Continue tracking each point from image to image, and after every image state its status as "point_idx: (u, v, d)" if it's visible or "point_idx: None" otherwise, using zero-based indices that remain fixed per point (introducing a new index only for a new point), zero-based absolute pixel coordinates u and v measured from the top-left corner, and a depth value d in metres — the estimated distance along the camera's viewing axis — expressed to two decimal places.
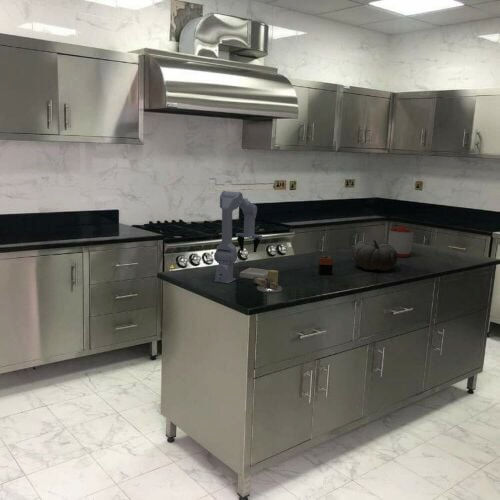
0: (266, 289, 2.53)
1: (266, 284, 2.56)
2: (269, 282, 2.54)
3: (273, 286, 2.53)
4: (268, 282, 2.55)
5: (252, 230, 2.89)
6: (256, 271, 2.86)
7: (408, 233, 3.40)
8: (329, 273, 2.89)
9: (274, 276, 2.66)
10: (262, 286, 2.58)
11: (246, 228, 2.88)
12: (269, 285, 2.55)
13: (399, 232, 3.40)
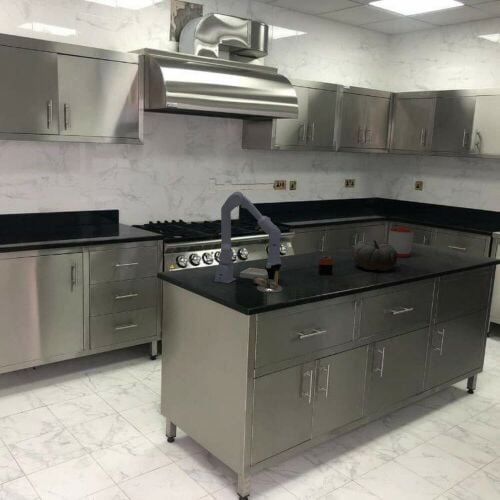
0: (266, 289, 2.53)
1: (266, 284, 2.56)
2: (269, 282, 2.54)
3: (273, 286, 2.53)
4: (268, 282, 2.55)
5: (269, 256, 2.64)
6: (256, 271, 2.86)
7: (408, 233, 3.40)
8: (329, 273, 2.89)
9: (274, 276, 2.65)
10: (262, 286, 2.58)
11: None
12: (269, 285, 2.55)
13: (399, 232, 3.40)
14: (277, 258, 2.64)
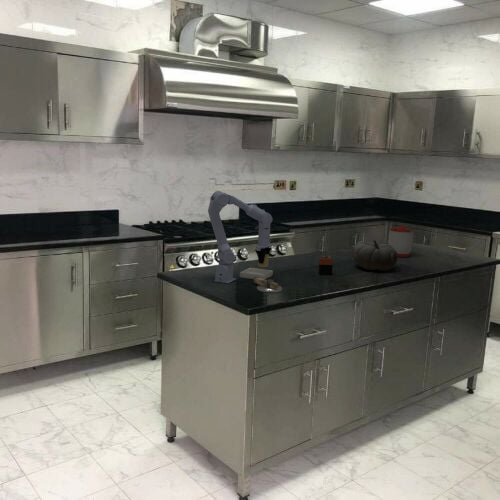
0: (266, 289, 2.53)
1: (266, 284, 2.56)
2: (269, 282, 2.54)
3: (273, 286, 2.53)
4: (268, 282, 2.55)
5: (259, 240, 2.70)
6: (256, 271, 2.86)
7: (408, 233, 3.40)
8: (329, 273, 2.89)
9: (265, 260, 2.71)
10: (262, 286, 2.58)
11: None
12: (269, 285, 2.55)
13: (399, 232, 3.40)
14: (267, 241, 2.70)
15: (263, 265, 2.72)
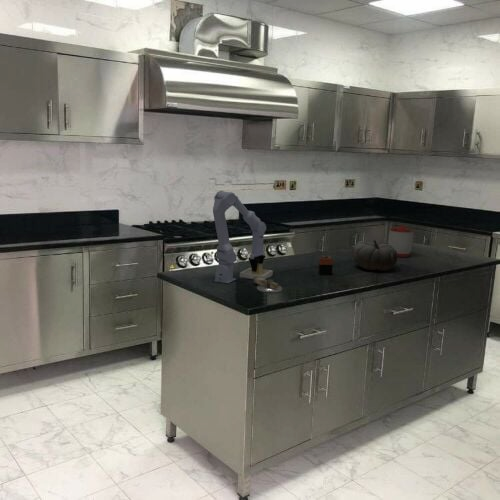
0: (266, 289, 2.53)
1: (266, 284, 2.56)
2: (269, 282, 2.54)
3: (273, 286, 2.53)
4: (268, 282, 2.55)
5: (253, 248, 2.76)
6: None
7: (408, 233, 3.40)
8: (329, 273, 2.89)
9: (258, 269, 2.77)
10: (262, 286, 2.58)
11: None
12: (269, 285, 2.55)
13: (399, 232, 3.40)
14: (260, 249, 2.76)
15: None
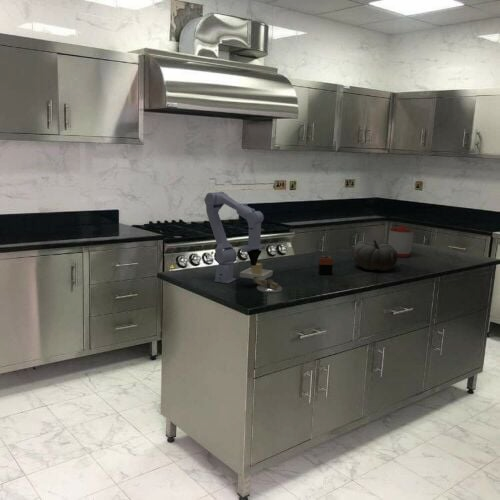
0: (266, 289, 2.53)
1: (266, 284, 2.56)
2: (269, 282, 2.54)
3: (273, 286, 2.53)
4: (268, 282, 2.55)
5: (248, 241, 2.55)
6: None
7: (408, 233, 3.40)
8: (329, 273, 2.89)
9: (258, 269, 2.77)
10: (262, 286, 2.58)
11: None
12: (269, 285, 2.55)
13: (399, 232, 3.40)
14: (256, 243, 2.53)
15: None
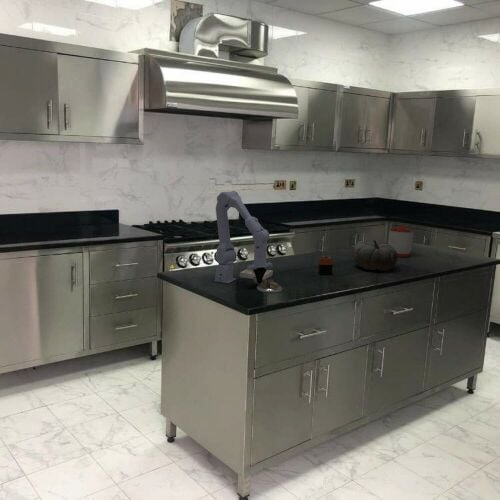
0: (266, 289, 2.53)
1: (266, 284, 2.56)
2: (269, 282, 2.54)
3: (273, 286, 2.53)
4: (268, 282, 2.55)
5: (254, 259, 2.56)
6: None
7: (408, 233, 3.40)
8: (329, 273, 2.89)
9: None
10: (262, 286, 2.58)
11: None
12: (269, 285, 2.55)
13: (399, 232, 3.40)
14: (261, 261, 2.54)
15: None
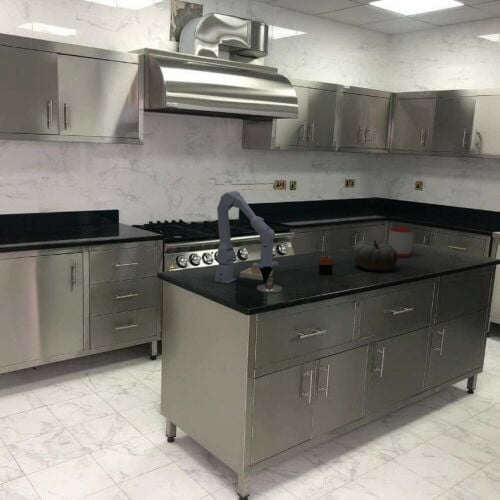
0: (266, 289, 2.53)
1: None
2: (267, 282, 2.55)
3: (267, 286, 2.53)
4: None
5: None
6: None
7: (408, 233, 3.40)
8: (329, 273, 2.89)
9: (258, 269, 2.77)
10: (262, 286, 2.58)
11: None
12: (267, 285, 2.55)
13: (399, 232, 3.40)
14: (267, 260, 2.57)
15: None
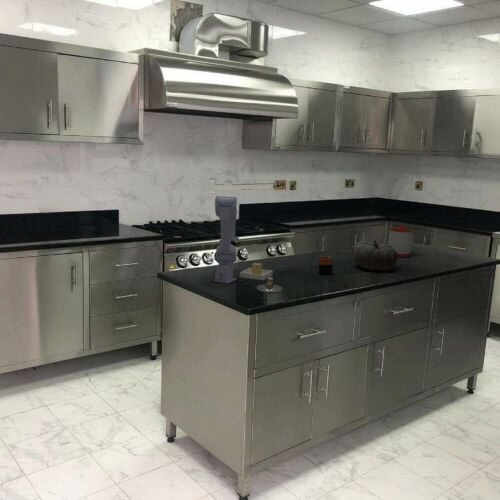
0: (266, 289, 2.53)
1: None
2: (267, 282, 2.55)
3: (267, 286, 2.53)
4: None
5: None
6: None
7: (408, 233, 3.40)
8: (329, 273, 2.89)
9: (258, 269, 2.77)
10: (262, 286, 2.58)
11: None
12: (267, 285, 2.55)
13: (399, 232, 3.40)
14: (231, 235, 2.78)
15: None
